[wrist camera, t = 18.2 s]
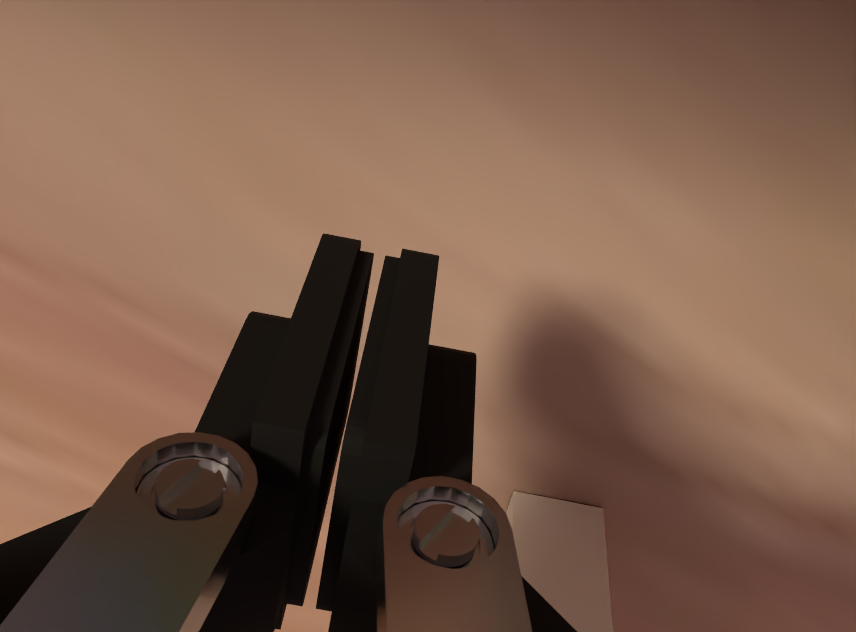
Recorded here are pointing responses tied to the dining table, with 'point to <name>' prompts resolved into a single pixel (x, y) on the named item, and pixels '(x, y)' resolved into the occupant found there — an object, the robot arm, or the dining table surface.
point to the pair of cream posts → (564, 557)
